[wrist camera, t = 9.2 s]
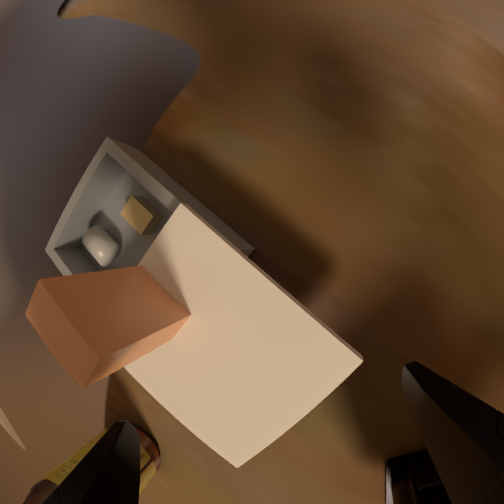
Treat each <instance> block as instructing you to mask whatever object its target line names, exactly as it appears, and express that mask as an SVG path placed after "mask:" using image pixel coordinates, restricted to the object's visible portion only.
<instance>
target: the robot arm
mask: <svg viewBox="0 0 504 504" xmlns="http://www.w3.org/2000/svg"><path fill="white" fill-rule="evenodd" d="M401 384H402V388H403V391H404V394H405V397H406V399H407V402H408V405H409V408H410V411H411V413H412V416H413V419H414V422H415V425H416V427H417V429H418V432H419V434H420V436H421V438H422V440H423V442H424V444H425V446H426V448H427V450H425V451H421V452H417V453H413V454H409V455H405V456H400V457H396V458H391V459H389V460H388V461H387V462H386V504H504V413H502V412H500V411H499V410H497V411H496V409H495V408H493V407H492V406H490V405H488V404H487V403H485V402H483V401H482V400H480V399H478V398H477V397H475V396H473V395H472V394H470V393H468V392H467V391H465V390H463V389H462V388H460V387H458V386H457V385H455V384H453V383H452V382H450V381H448V380H447V379H445V378H443V377H442V376H440V375H438V374H437V373H435V372H433V371H432V370H430V369H428V368H427V367H425V366H423V365H422V364H420V363H418V362H416V361H413V362H410V363H407V364H405V365H404V366H403V370H402V381H401ZM392 463H395V464H394V465H391V464H392ZM140 477H141V467H140V436H139V434H138V432H137V431H136V430H135V429H134V427H133V426H132V425H131V424H130V422H129V421H127V420H118V421H116V422H114V424H113V425H112V426H111V427H110V428H109V429H108V430H107V431H106V433H105V434H104V435H103V436H102V437H101V438H100V439H99V441H98V442H97V443H96V444H95V445H94V446H93V447H92V449H91V450H90V451H89V452H88V453H87V454H86V455H85V456H84V458H83V459H82V460H81V461H80V462H79V463H78V464H77V465H76V467H75V468H74V469H73V470H72V471H71V472H70V473H69V474H68V476H67V477H66V478H65V479H64V480H63V481H62V482H61V483H60V485H59V487H57V488H56V489H55V490H54V491H53V492H52V493H51V495H50V496H49V497H48V498H47V499H46V500H45V501H44V502H43V503H42V504H138V502H139V490H140Z"/></svg>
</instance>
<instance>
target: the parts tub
mask: <svg viewBox="0 0 504 504" xmlns="http://www.w3.org/2000/svg"><path fill="white" fill-rule="evenodd" d="M180 203H183V204H187V205H188V206H190V207H191V208H192V209H193V210H194V211H195V212H196V213H198V214H199V215H200V216H201V217H202V218H203V219H204V220H206V221H207V222H208V223H209V224H210V225H211V226H213V227H214V228H215V229H216V230H217V231H218V232H219V233H221V234H222V235H223V236H224V237H225V238H226V239H227V240H229V241H230V242H231V243H232V244H233V245H234V246H236V247H237V248H238V249H239V250H240V251H241V252H242V253H244V254H245V255H246V256H247V257H248V256H249V255H250V254H251V253H252V251H253V250H254V249H255V248H254V247H252V246H251V245H250V244H249V243H248V242H247V241H245V240H244V239H243V238H242V237H241V236H240V235H238V234H237V233H236V232H235V231H234V230H233V229H231V228H230V227H229V226H228V225H227V224H226V223H224V222H223V221H222V220H221V219H220V218H219V217H217V216H216V215H215V214H214V213H213V212H212V211H210V210H209V209H208V208H207V207H206V206H205V205H203V204H202V203H201V202H200V201H199V200H197V199H196V198H195V197H194V196H193V195H192V194H190V193H189V192H188V191H187V190H186V189H185V188H183V187H182V186H181V185H180V184H179V183H178V182H176V181H175V180H174V179H173V178H172V177H171V176H169V175H168V174H167V173H166V172H165V171H163V170H162V169H161V168H160V167H159V166H158V165H156V164H155V163H154V162H153V161H152V160H151V159H149V158H148V157H147V156H146V155H145V154H143V153H142V152H141V151H140V150H138V149H136V148H134V147H132V146H129V145H127V144H124V143H122V142H119V141H117V140H114V139H112V138H109V137H107V138H106V139H105V140H104V142H103V143H102V145H101V147H100V148H99V150H98V151H97V153H96V155H95V156H94V158H93V159H92V161H91V163H90V165H89V166H88V168H87V169H86V171H85V173H84V175H83V177H82V178H81V180H80V182H79V183H78V185H77V187H76V189H75V191H74V192H73V194H72V196H71V198H70V200H69V202H68V204H67V205H66V208H65V209H64V211H63V213H62V216H61V217H60V219H59V221H58V223H57V225H56V227H55V229H54V231H53V234H52V236H51V238H50V240H49V242H48V244H47V247H46V249H45V251H46V252H47V254H48V255H49V257H50V258H51V259H52V261H53V262H54V264H55V265H56V266H57V268H58V269H59V271H60V272H61V273H62V274H63V276H66V275H74V274H81V273H89V272H96V271H103V270H111V269H118V268H126V267H133V266H138V264H139V263H140V261H141V260H142V258H143V257H144V255H145V254H146V252H147V251H148V249H149V248H150V246H151V245H152V243H153V242H154V240H155V239H156V237H157V236H158V234H159V233H160V231H161V230H162V229H163V227H164V226H165V224H166V223H167V221H168V220H169V219H170V217H171V216H172V214H173V213H174V211H175V210H176V209H177V207H178V206H179V204H180Z"/></svg>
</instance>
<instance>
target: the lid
mask: <svg viewBox="0 0 504 504" xmlns="http://www.w3.org/2000/svg"><path fill="white" fill-rule="evenodd" d="M26 316H27V318H28V319H29V321H30V322H31V324H32V325H33V327H34V328H35V330H36V331H37V333H38V334H39V335H40V337H41V338H42V340H43V341H44V343H45V344H46V345H47V347H48V348H49V349H50V351H51V352H52V354H54V356H55V357H56V359H57V360H58V361H59V363H60V364H61V365H62V367H63V368H64V369H65V370H66V372H67V373H68V374H69V375H70V377H71V378H72V379H73V380H74V381H75V383H76V384H77V385H78V386H79V387H80V389H81V390H83V389H84V388H86V387H88V386H90V385H92V384H94V383H95V382H97V381H99V380H101V379H103V378H104V377H106V376H108V375H110V374H112V373H114V372H115V371H117V370H119V369H121V368H123V367H124V368H125V369H126V370H127V371H128V372H129V373H130V374H131V375H132V376H133V377H134V378H135V379H136V380H137V381H138V382H139V383H140V384H141V385H142V386H143V387H144V388H145V389H146V390H147V391H148V392H149V393H150V394H151V395H152V396H153V397H154V398H155V399H156V400H157V401H158V402H159V403H160V404H161V405H162V406H163V407H164V408H165V409H167V410H168V411H169V412H170V413H171V414H172V415H173V416H174V417H175V418H176V419H178V420H179V421H180V422H181V423H182V424H183V425H184V426H185V427H187V428H188V429H189V430H190V431H191V432H192V433H194V434H195V435H196V436H197V437H198V438H200V439H201V440H202V441H203V442H204V443H206V444H207V445H208V446H209V447H210V448H212V449H213V450H214V451H215V452H217V453H218V454H219V455H221V456H222V457H223V458H224V459H226V460H227V461H228V462H230V463H231V464H232V465H234V466H235V467H236V468H238V467H240V466H241V465H242V464H244V463H245V462H247V461H248V460H249V459H251V458H252V457H254V456H255V455H256V454H258V453H259V452H260V451H262V450H263V449H264V448H266V447H267V446H268V445H269V444H271V443H272V442H273V441H275V440H276V439H277V438H278V437H280V436H281V435H282V434H283V433H285V432H286V431H287V430H288V429H290V428H291V427H292V426H293V425H295V424H296V423H297V422H298V421H299V420H301V419H302V418H303V417H304V416H305V415H306V414H308V413H309V412H310V411H311V410H312V409H313V408H314V407H316V406H317V405H318V404H319V403H320V402H321V401H322V400H323V399H325V398H326V397H327V396H328V395H329V394H330V393H331V392H332V391H333V390H334V389H335V388H337V387H338V386H339V385H340V384H341V383H342V382H343V381H344V380H345V379H346V378H347V377H348V376H349V375H350V374H351V373H352V372H353V371H354V370H355V369H356V368H357V367H358V366H359V365H360V364H361V363H362V362H363V357H362V355H361V354H360V353H358V352H357V351H356V350H355V349H354V348H353V347H351V346H350V345H349V344H348V343H347V342H346V341H344V340H343V339H342V338H341V337H340V336H339V335H337V334H336V333H335V332H334V331H333V330H332V329H330V328H329V327H328V326H327V325H326V324H325V323H323V322H322V321H321V320H320V319H319V318H318V317H316V316H315V315H314V314H313V313H312V312H311V311H310V310H308V309H307V308H306V307H305V306H304V305H303V304H301V303H300V302H299V301H298V300H297V299H296V298H294V297H293V296H292V295H291V294H290V293H289V292H287V291H286V290H285V289H284V288H283V287H282V286H281V285H279V284H278V283H277V282H276V281H275V280H274V279H272V278H271V277H270V276H269V275H268V274H267V273H265V272H264V271H263V270H262V269H261V268H260V267H259V266H257V265H256V264H255V263H254V262H253V261H252V260H250V259H249V258H248V257H247V256H246V255H245V254H244V253H242V252H241V251H240V250H239V249H238V248H237V247H236V246H234V245H233V244H232V243H231V242H230V241H229V240H227V239H226V238H225V237H224V236H223V235H222V234H221V233H219V232H218V231H217V230H216V229H215V228H214V227H213V226H211V225H210V224H209V223H208V222H207V221H206V220H204V219H203V218H202V217H201V216H200V215H199V214H198V213H196V212H195V211H194V210H193V209H192V208H191V207H190V206H188V205H187V204H183V203H180V204H179V206H178V207H177V209H176V210H175V211H174V213H173V214H172V216H171V217H170V219H169V220H168V221H167V223H166V224H165V226H164V227H163V229H162V230H161V231H160V233H159V234H158V236H157V237H156V239H155V240H154V242H153V243H152V245H151V246H150V248H149V249H148V251H147V252H146V254H145V255H144V257H143V258H142V260H141V261H140V263H139V264H138V266H133V267H126V268H118V269H111V270H103V271H96V272H89V273H81V274H74V275H66V276H59V277H52V278H44V279H39V280H38V283H37V285H36V287H35V290H34V293H33V295H32V298H31V300H30V303H29V306H28V308H27V311H26Z"/></svg>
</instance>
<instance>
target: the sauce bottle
mask: <svg viewBox="0 0 504 504" xmlns="http://www.w3.org/2000/svg"><path fill="white" fill-rule="evenodd" d="M132 426H133V425H132ZM133 427H134V429H135V430H136V431H137V432H138V434H139V436H140V467H141V477H140V490H139V494H140V493H141V491H142V490H143V489H144V488H145V486H146V485H147V484H148V483H149V482H150V480H151V479H152V478H153V477H154V475H155V472H156V471H157V470H158V469H159V467H160V462H161V460H160V454H159V450H158V448H157V446H156V445H155V444H154V442H153V441H152V440H151V439H150V438H149V437H148V436H147V435H146V433H144V432H143V431H141V430H140V429H138V428H136V427H135V426H133ZM109 428H110V427H109ZM109 428H108V429H109ZM108 429H106V430H103V431H102V432H101V433H99V434H98V435H97V436H95V437H94V438H93V439H92V440H90V441H89V442H88V443H87V444H85V445H84V446H83V447H82V448H80V449H79V450H78V451H77V452H76V453H74V454H73V455H72V456H71V457H69V458H68V459H67V460H66V461H64V462H63V463H62V464H60V465H59V466H58V467H56V468H55V469H54V470H53V471H51V472H50V473H49V474H47V475H46V476H45V477H44V478H42V479H41V480H40V481H39V482H37V483H36V484H35V485H34V486H33V487H32V488H31V491H30V493H29V495H28V496H27V498H26V499H25V501H24V503H23V504H42V503H43V502H44V501H45V500H46V499H47V498H48V497H49V496H50V495H51V493H52V492H53V491H54V490H55V489H56V488H57V487H59V485H60V483H61V482H62V481H63V480H64V479H65V478H66V477H67V476H68V474H69V473H70V472H71V471H72V470H73V469H74V468H75V467H76V465H77V464H78V463H79V462H80V461H81V460H82V459H83V458H84V456H85V455H86V454H87V453H88V452H89V451H90V450H91V449H92V447H93V446H94V445H95V444H96V443H97V442H98V441H99V439H100V438H101V437H102V436H103V435H104V434H105V433H106V431H107V430H108Z"/></svg>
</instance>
